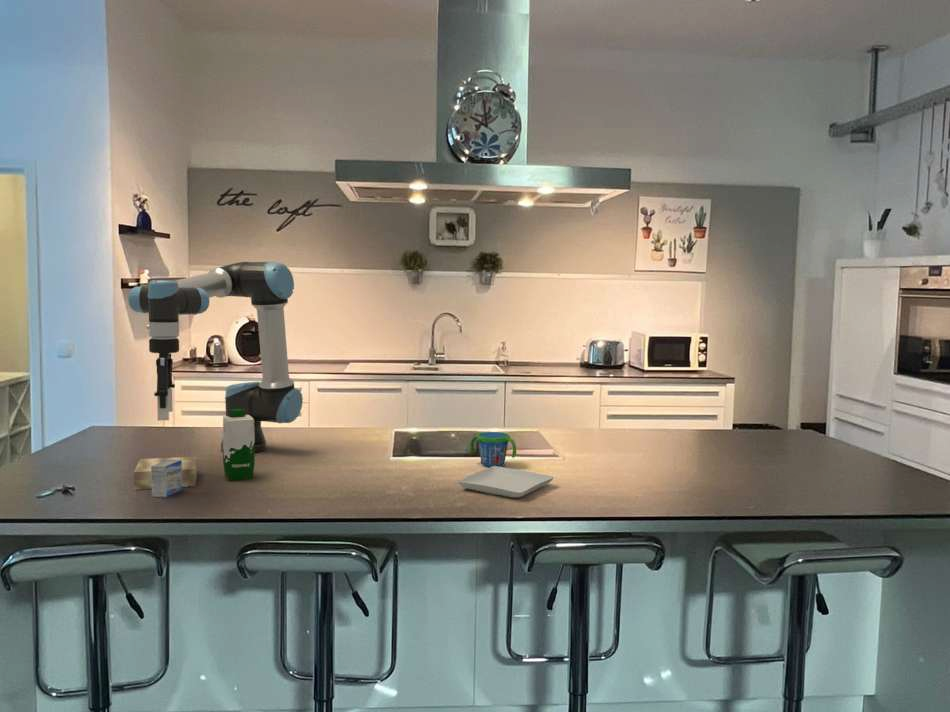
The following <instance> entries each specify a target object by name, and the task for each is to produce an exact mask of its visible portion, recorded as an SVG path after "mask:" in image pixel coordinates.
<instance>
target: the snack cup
mask: <svg viewBox="0 0 950 712" xmlns="http://www.w3.org/2000/svg"><path fill="white" fill-rule="evenodd" d="M476 439H477V441H478V448H479V449H478V450H479V456H480V463H481V465H482V466H483V467H485V468H486V467H487V468H490V467H493V466H498V467H503V466H504V465H505V462H506V457H507V451H508V445H509V442H510V443H511V447H512V454H511V457H512V459H514V458H515V457H516V455H517V446H516V442H515V441H514V439H513V438H512V437H511V436H510V434H509V433H506V432H502V431H501V432H500V431H486V432H479V433H477V435H475V436H473V437H472V439H471V441H470V446H469V450H470V453H471V454H474V453H475V451H476V450H475V445H474V443H475V441H476Z"/></svg>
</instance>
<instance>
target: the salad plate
mask: <svg viewBox="0 0 950 712" xmlns="http://www.w3.org/2000/svg"><path fill="white" fill-rule="evenodd" d="M553 480H554V476H552V475H547V474H542V473H537V472H532V471H526V470H522V469H515V468H511V467H510V468H509V467H503V466H501V467H498V466H493V467H487V468H485V469H483V470H479V471H478V472H476V473H473V474H470V475H467V476H466V477H463V478H460V479H459V480H457V483H458V484H459V485H460V486H462V487H463V488H465V489H468V490H472V491H474V490H475V492H479V491H480V493H484V492H485V494H489V493H490V495H495V494H496V495H495V496H500V495H501V496H500V497H506V498H512V499H513V498H517V499H518V498H522V497H524V496H526V495H528V494H530V493H532V492H533V491H536V490H537V489H541V488H543V487H545V486H546V485H548V484H550V483H551V482H552V481H553Z"/></svg>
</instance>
